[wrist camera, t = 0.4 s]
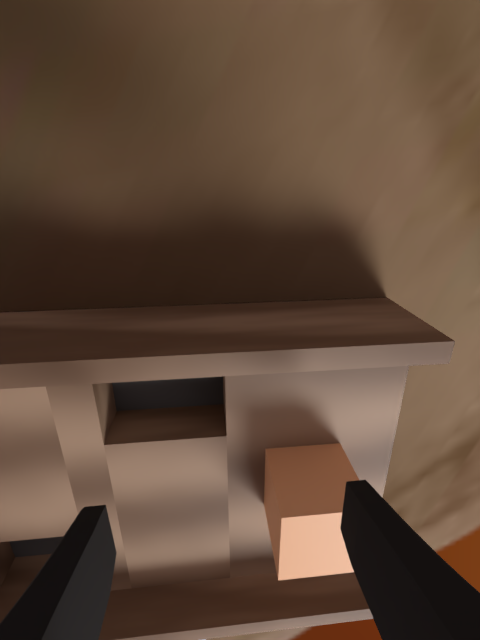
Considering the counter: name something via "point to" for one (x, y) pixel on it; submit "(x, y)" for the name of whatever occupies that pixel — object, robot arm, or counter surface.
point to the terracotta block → (307, 509)
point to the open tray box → (193, 447)
